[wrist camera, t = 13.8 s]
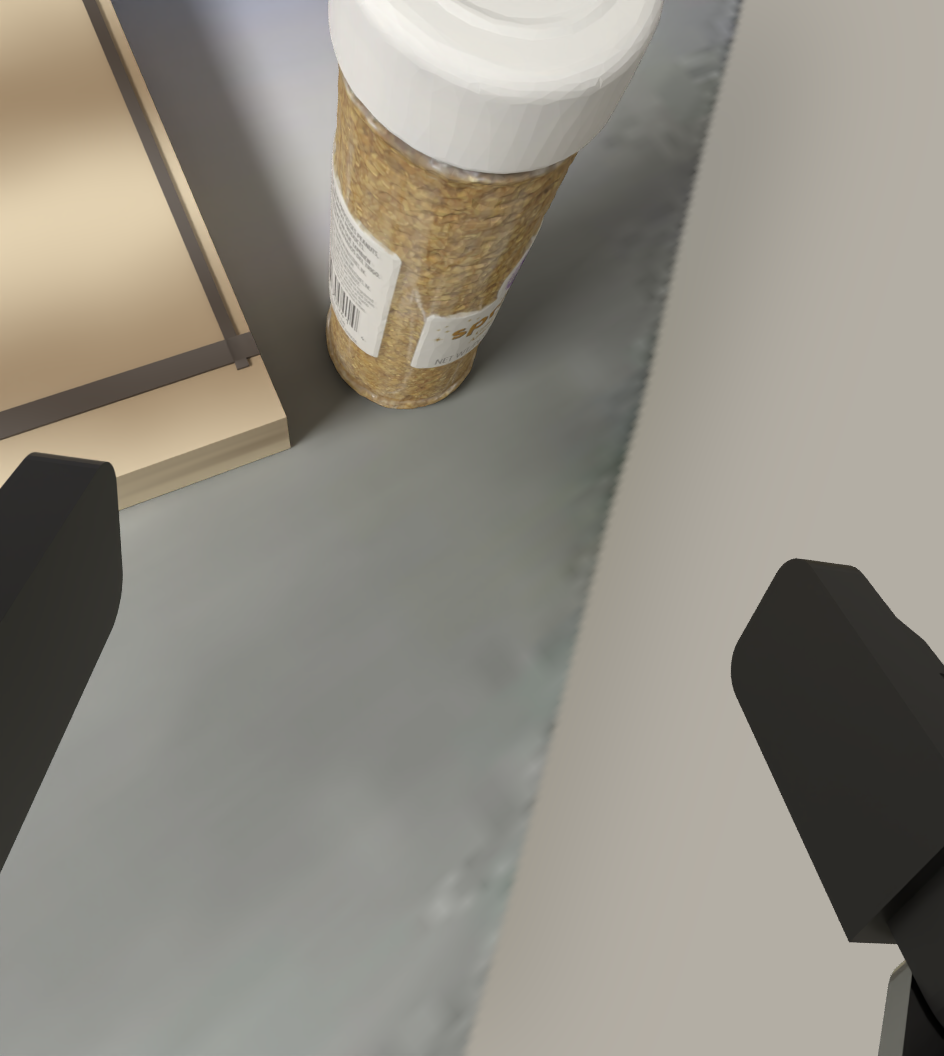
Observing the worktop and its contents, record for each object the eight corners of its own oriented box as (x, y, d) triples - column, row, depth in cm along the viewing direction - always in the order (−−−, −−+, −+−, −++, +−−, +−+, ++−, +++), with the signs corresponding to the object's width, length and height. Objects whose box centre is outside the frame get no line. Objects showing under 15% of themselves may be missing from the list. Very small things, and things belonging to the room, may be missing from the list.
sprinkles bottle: (471, 420, 23) (677, 116, 10) (316, 403, 22) (315, 46, 9) (478, 278, 23) (679, -181, 10) (328, 256, 23) (344, -273, 10)
